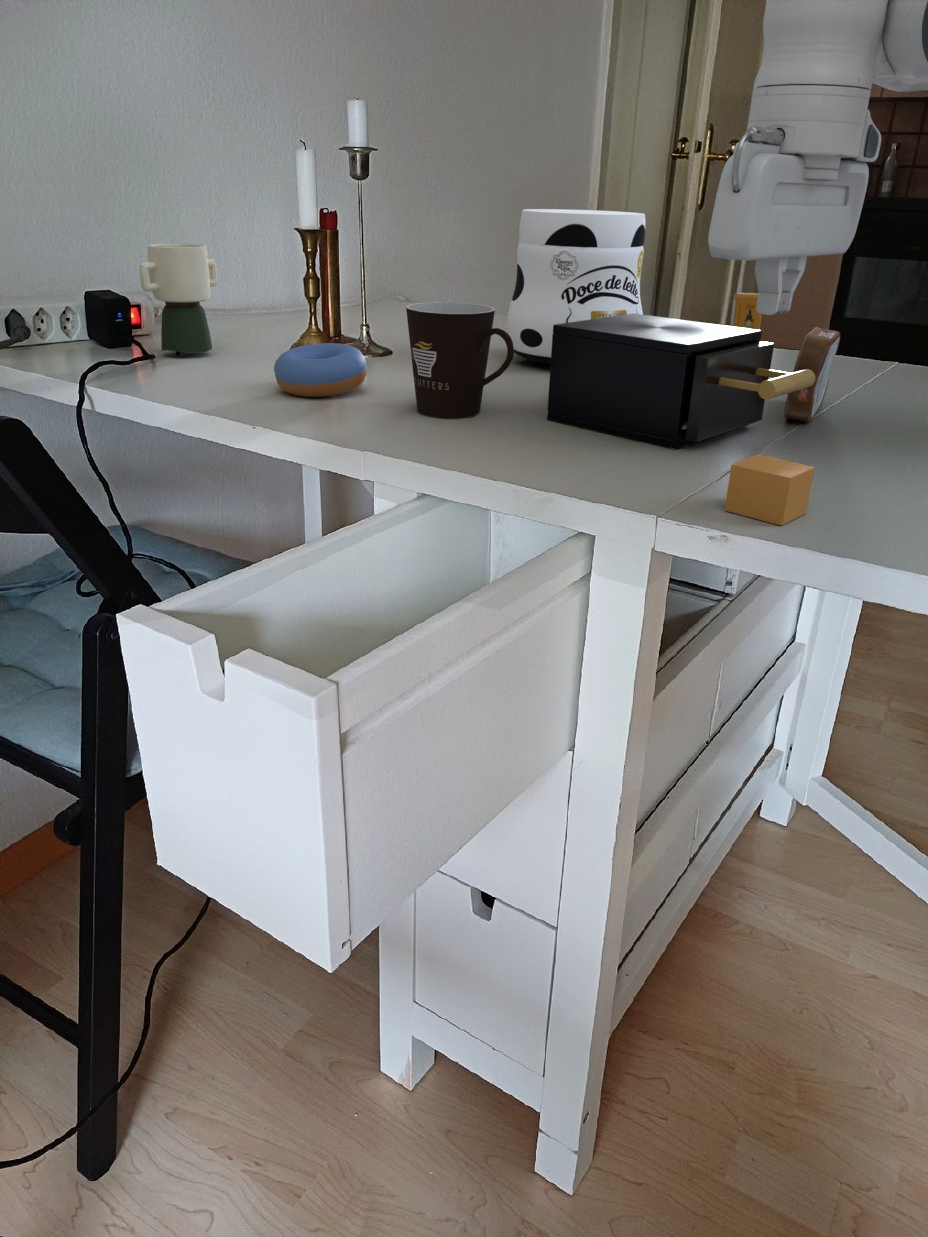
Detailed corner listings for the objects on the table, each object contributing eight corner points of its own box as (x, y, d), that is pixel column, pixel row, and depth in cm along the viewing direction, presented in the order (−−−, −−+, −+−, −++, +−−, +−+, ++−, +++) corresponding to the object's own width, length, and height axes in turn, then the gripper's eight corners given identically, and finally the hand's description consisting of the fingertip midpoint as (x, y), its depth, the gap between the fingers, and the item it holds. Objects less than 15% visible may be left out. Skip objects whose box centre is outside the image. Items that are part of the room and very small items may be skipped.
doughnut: (285, 403, 95) (283, 357, 93) (267, 384, 104) (264, 341, 102) (378, 397, 99) (378, 353, 97) (353, 379, 107) (352, 338, 105)
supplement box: (749, 377, 115) (763, 292, 111) (752, 382, 112) (766, 295, 107) (722, 375, 115) (734, 290, 111) (724, 380, 112) (736, 293, 108)
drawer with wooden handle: (815, 430, 87) (830, 350, 84) (753, 454, 79) (767, 367, 75) (643, 397, 98) (651, 325, 95) (573, 415, 90) (579, 337, 87)
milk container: (608, 381, 110) (624, 216, 103) (481, 364, 118) (487, 209, 110) (657, 360, 124) (674, 213, 116) (540, 346, 132) (548, 207, 124)
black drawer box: (747, 425, 92) (762, 330, 88) (675, 449, 83) (688, 344, 79) (623, 400, 101) (632, 313, 97) (546, 420, 92) (552, 324, 88)
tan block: (806, 513, 68) (815, 466, 66) (781, 526, 65) (790, 477, 63) (749, 499, 70) (757, 454, 69) (723, 510, 68) (731, 464, 66)
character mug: (206, 346, 124) (197, 242, 119) (239, 353, 120) (231, 245, 115) (134, 355, 117) (120, 244, 111) (167, 363, 113) (154, 248, 107)
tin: (800, 399, 104) (814, 321, 100) (829, 402, 103) (845, 323, 99) (778, 427, 92) (794, 339, 88) (811, 431, 90) (828, 342, 87)
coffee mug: (394, 404, 96) (394, 303, 92) (471, 399, 99) (474, 301, 95) (433, 431, 86) (435, 319, 82) (517, 425, 89) (523, 317, 85)
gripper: (782, 123, 65) (749, 327, 71) (890, 139, 79) (854, 309, 85) (702, 124, 69) (677, 317, 75) (818, 139, 83) (789, 301, 89)
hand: (772, 313), depth 80 cm, fingers closed
